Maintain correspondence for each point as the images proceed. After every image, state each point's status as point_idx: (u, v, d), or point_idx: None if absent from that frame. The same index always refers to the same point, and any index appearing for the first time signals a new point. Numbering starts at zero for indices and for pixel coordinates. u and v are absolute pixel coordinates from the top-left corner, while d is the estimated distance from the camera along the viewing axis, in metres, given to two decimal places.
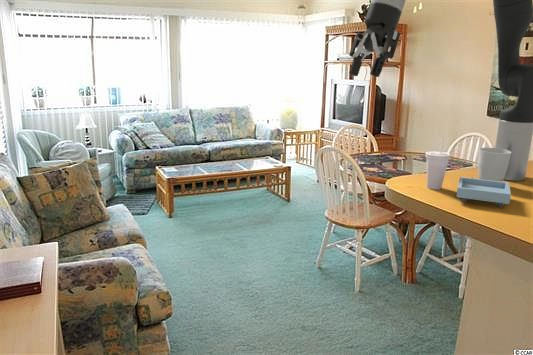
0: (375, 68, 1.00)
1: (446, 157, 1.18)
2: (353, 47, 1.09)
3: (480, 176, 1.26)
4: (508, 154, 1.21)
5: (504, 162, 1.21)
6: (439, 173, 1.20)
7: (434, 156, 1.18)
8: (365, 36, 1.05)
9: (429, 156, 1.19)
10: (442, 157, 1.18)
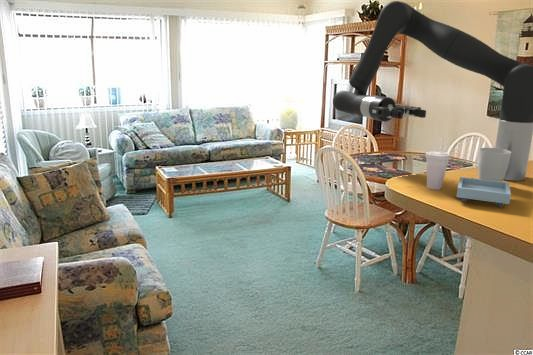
0: (396, 117, 1.27)
1: (446, 157, 1.18)
2: None
3: (480, 176, 1.26)
4: (508, 154, 1.21)
5: (504, 162, 1.21)
6: (439, 173, 1.20)
7: (434, 156, 1.18)
8: None
9: (429, 156, 1.19)
10: (442, 157, 1.18)
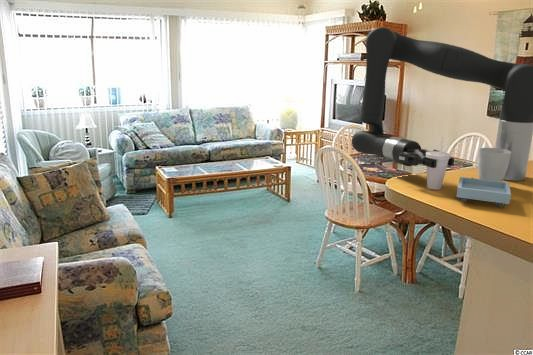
0: (429, 165, 1.19)
1: (446, 157, 1.18)
2: None
3: (480, 176, 1.26)
4: (508, 154, 1.21)
5: (504, 162, 1.21)
6: (439, 173, 1.20)
7: (434, 156, 1.18)
8: None
9: (429, 156, 1.19)
10: (442, 157, 1.18)
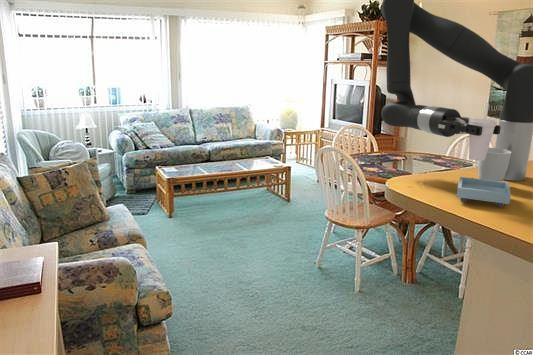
0: (473, 133, 1.08)
1: (492, 124, 1.07)
2: None
3: (480, 176, 1.26)
4: (508, 154, 1.21)
5: (504, 162, 1.21)
6: (484, 142, 1.09)
7: (479, 123, 1.07)
8: None
9: (473, 123, 1.08)
10: (488, 124, 1.07)
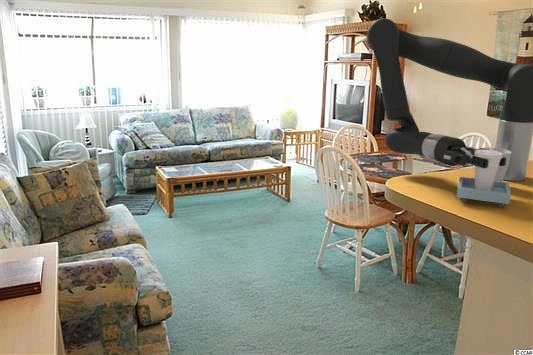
0: (479, 165, 1.08)
1: (499, 156, 1.07)
2: None
3: None
4: (508, 154, 1.21)
5: None
6: (490, 174, 1.09)
7: (485, 155, 1.07)
8: None
9: (479, 155, 1.08)
10: (494, 156, 1.07)
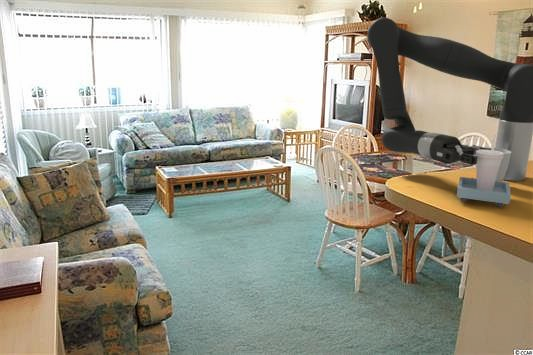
0: (468, 162, 1.10)
1: (500, 156, 1.08)
2: None
3: None
4: (508, 154, 1.21)
5: (504, 162, 1.21)
6: (492, 173, 1.09)
7: (486, 155, 1.08)
8: None
9: (480, 155, 1.09)
10: (495, 156, 1.08)
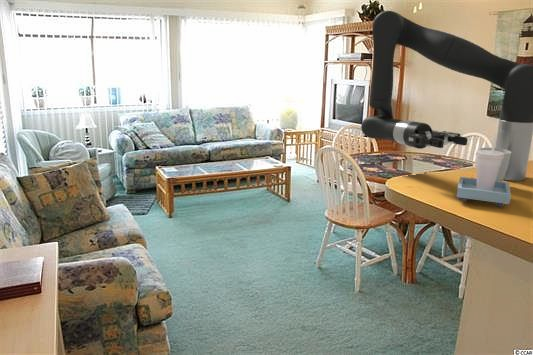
0: (436, 146, 1.19)
1: (500, 156, 1.08)
2: (452, 141, 1.28)
3: None
4: (508, 154, 1.21)
5: (504, 162, 1.21)
6: (492, 174, 1.09)
7: (487, 155, 1.08)
8: None
9: (481, 155, 1.09)
10: (496, 156, 1.07)
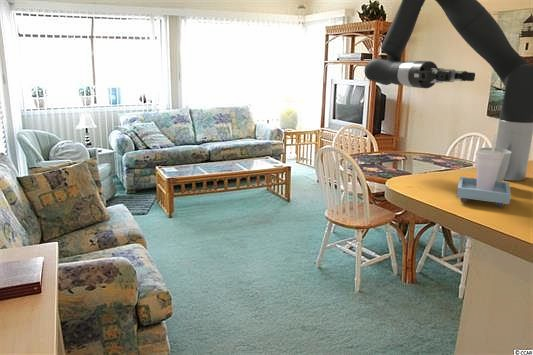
0: (443, 79, 1.14)
1: (500, 156, 1.08)
2: None
3: None
4: (508, 154, 1.21)
5: (504, 162, 1.21)
6: (492, 174, 1.09)
7: (487, 155, 1.08)
8: (439, 82, 1.24)
9: (481, 155, 1.09)
10: (496, 156, 1.07)
